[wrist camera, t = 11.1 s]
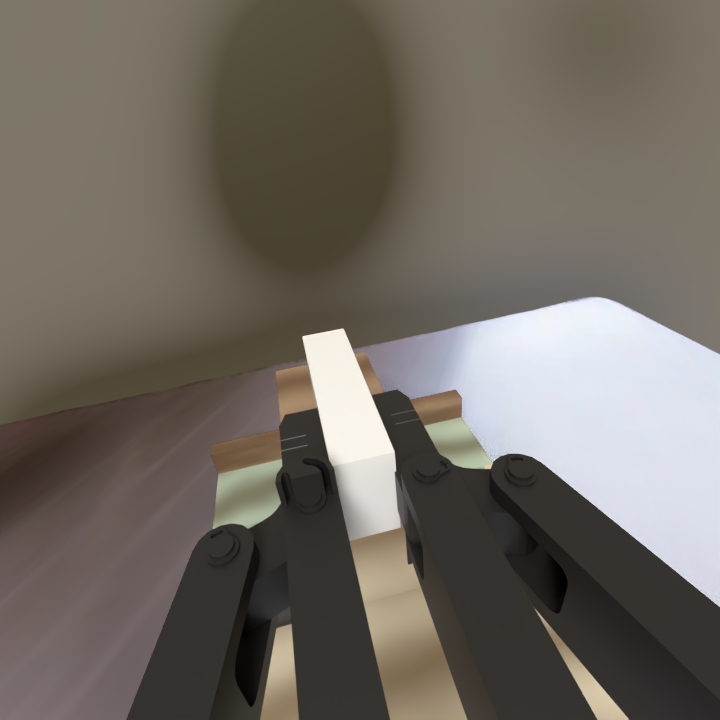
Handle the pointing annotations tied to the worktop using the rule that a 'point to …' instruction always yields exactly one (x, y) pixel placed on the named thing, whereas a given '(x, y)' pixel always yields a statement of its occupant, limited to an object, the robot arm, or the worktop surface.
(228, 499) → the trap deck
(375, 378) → the walnut block
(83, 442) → the worktop surface
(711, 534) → the worktop surface
